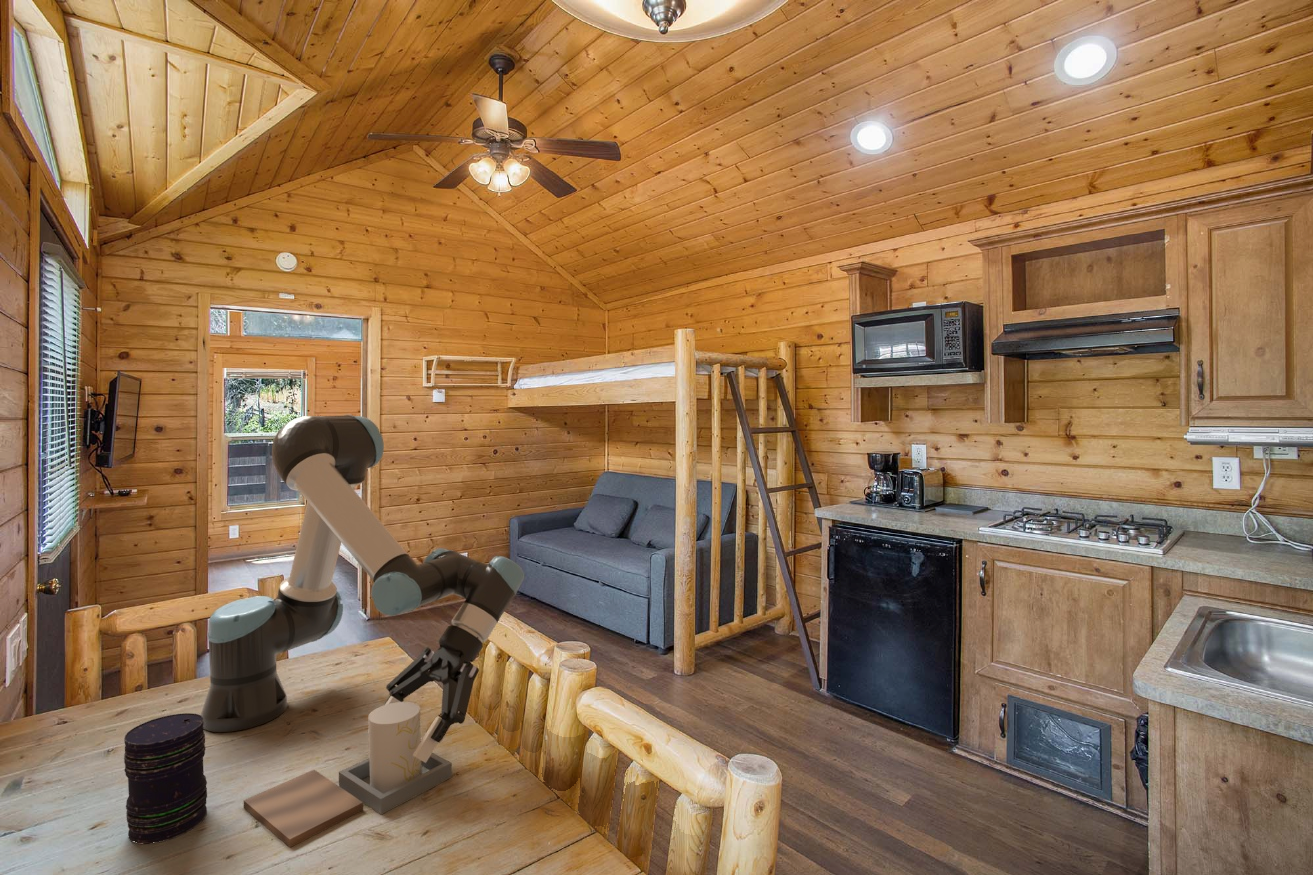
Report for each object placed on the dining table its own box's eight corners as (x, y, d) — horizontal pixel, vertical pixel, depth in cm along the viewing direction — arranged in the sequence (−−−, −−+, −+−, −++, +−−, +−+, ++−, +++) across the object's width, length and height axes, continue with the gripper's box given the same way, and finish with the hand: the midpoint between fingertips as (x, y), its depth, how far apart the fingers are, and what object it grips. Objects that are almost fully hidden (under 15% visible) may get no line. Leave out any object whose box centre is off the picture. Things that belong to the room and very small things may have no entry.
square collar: (339, 786, 109) (338, 771, 109) (409, 753, 119) (408, 740, 119) (381, 814, 101) (380, 799, 101) (452, 776, 111) (451, 762, 111)
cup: (403, 798, 105) (402, 726, 105) (359, 792, 107) (357, 721, 107) (430, 771, 113) (429, 703, 113) (389, 766, 115) (387, 700, 114)
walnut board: (243, 807, 103) (243, 800, 103) (314, 776, 112) (314, 769, 112) (289, 847, 94) (289, 839, 94) (363, 809, 102) (362, 802, 102)
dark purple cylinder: (143, 853, 93) (139, 751, 92) (115, 830, 98) (111, 733, 97) (220, 816, 101) (216, 722, 100) (190, 796, 106) (187, 707, 106)
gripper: (523, 657, 116) (454, 778, 104) (439, 631, 130) (371, 734, 119) (499, 637, 111) (424, 761, 100) (415, 611, 126) (341, 717, 115)
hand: (395, 746), depth 109 cm, fingers open, 13 cm apart
